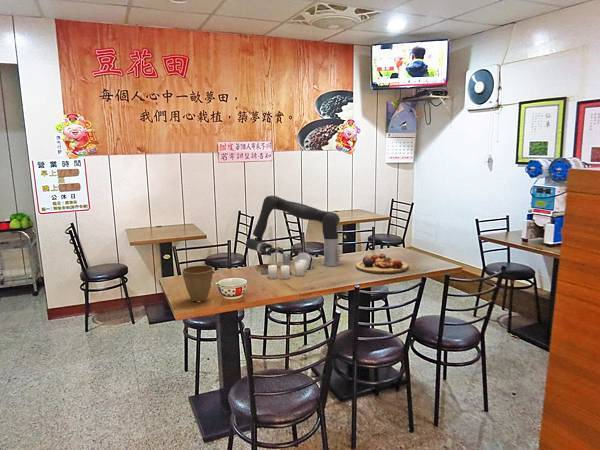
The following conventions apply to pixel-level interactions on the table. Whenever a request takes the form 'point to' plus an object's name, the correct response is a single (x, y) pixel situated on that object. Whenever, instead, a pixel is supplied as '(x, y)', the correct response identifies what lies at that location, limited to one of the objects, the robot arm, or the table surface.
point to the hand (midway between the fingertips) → (276, 253)
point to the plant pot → (198, 281)
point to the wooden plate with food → (381, 265)
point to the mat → (264, 272)
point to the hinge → (306, 257)
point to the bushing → (286, 260)
